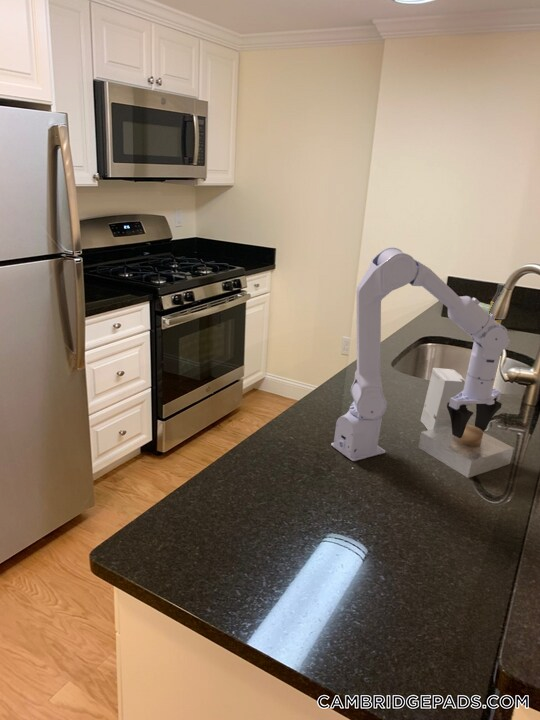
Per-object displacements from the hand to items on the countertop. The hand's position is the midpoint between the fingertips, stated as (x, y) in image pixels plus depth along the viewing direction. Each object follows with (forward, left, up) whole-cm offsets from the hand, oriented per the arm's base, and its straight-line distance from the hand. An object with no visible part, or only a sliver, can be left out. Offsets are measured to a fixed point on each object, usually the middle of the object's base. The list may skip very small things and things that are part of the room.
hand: (468, 432), depth 117 cm
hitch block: (0, 0, -6) cm, 6 cm away
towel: (+128, +99, -6) cm, 162 cm away
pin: (0, 0, -5) cm, 5 cm away
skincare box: (+5, +12, -6) cm, 14 cm away
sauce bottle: (+110, +75, -6) cm, 133 cm away
